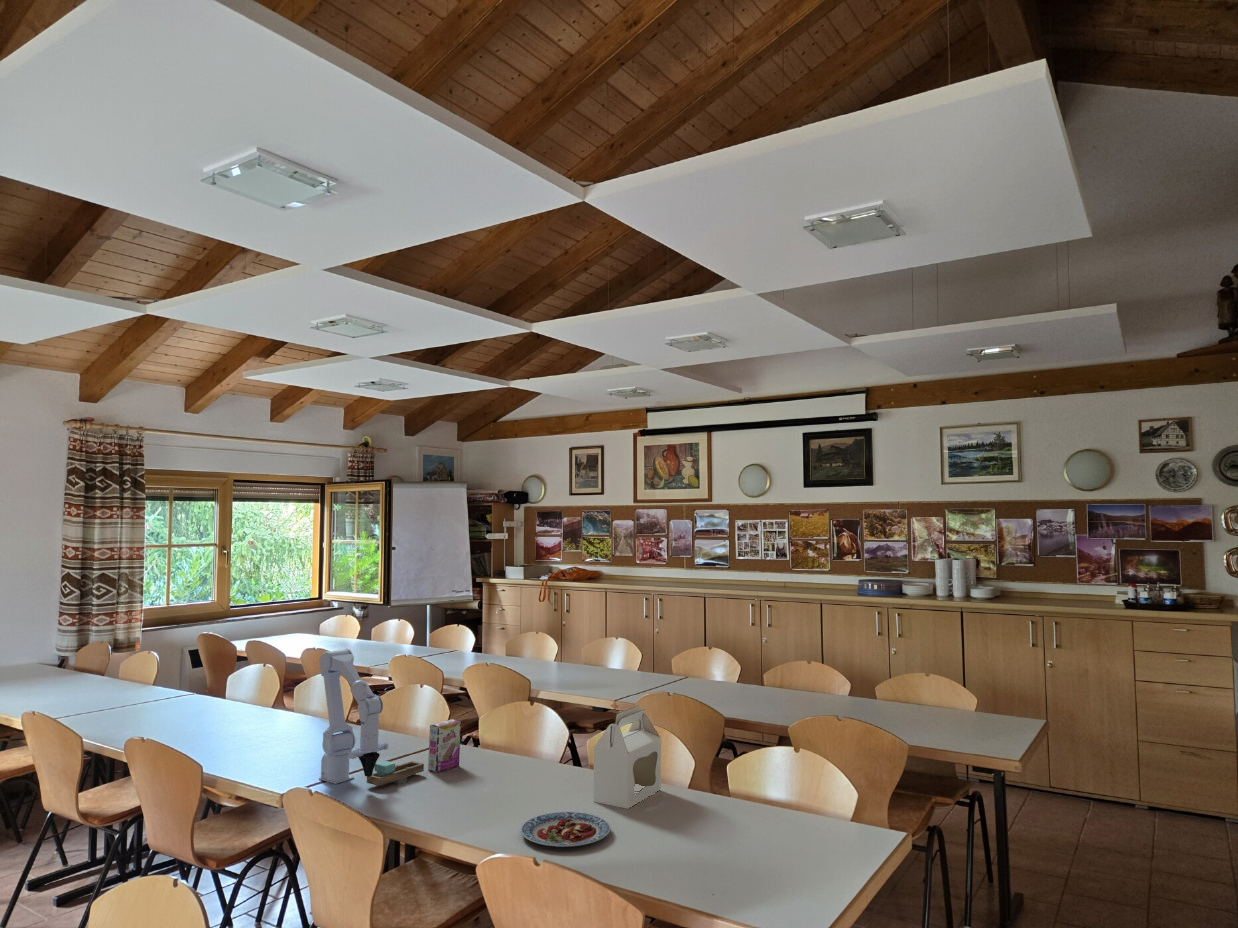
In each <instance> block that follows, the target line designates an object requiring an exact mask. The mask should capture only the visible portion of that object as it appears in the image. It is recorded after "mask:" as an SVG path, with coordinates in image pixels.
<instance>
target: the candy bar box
mask: <svg viewBox="0 0 1238 928" xmlns="http://www.w3.org/2000/svg"><path fill="white" fill-rule="evenodd" d="M461 727H462V721H461V720H458V719H453V718H452V719H449V720H445V721H440V722H435V723H431V724H429V736H428V737H429V739H428V740H429V741H428V765H427V766H428V767H427V768H428V769H427V770H428V771H429V772H432V773H435V774H437V773H441V772H443V771H446V770H450V769H453V768H456V767H457V768H458V767H460V753H461V752H460V751H461V749H460V748H461Z"/></svg>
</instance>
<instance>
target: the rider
mask: <svg viewBox="0 0 1238 928" xmlns="http://www.w3.org/2000/svg"><path fill="white" fill-rule="evenodd" d="M395 766H396V763H395V762H392V761H387V760H383V761H380V762H376V764H375V766H374V772H377V777H381V776H385V775H388V774H391V773H393V771H395Z"/></svg>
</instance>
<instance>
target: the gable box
mask: <svg viewBox="0 0 1238 928" xmlns="http://www.w3.org/2000/svg"><path fill="white" fill-rule="evenodd" d="M645 710H646V709H645V708H644V709H642V706H641V705H639V704H638V705H636V706H633V707H631V708H628V709H625V710H623V711H621V712H617V713H615V716H614V723H611V724H609V725H608V726H607V727H606V729H605V731H604V732H603V733H602V735H601V736H600V738H599V739H598V741H597V742H596V744H595V745H594V746H593V789H592V790H593V792H592V793H593V794H592V795H593V797H592V798H593V803H597V804H601V805H605V804H606V805H605V806H610V805H612V806H611V807H614V806H617V807H616V808H619V807H623V808H628V809H627V810H630V809H631V808H633V807H634V806H633V805H635V804H637V803H638V802H640V803H641V801H642V800H643V801H645V800H646V799H645V798H647V797H648V796H650V797H652V796H653V795H652V794H654V793H655V792H657V791H658V790H660V789H662V787H661V786H662V785H661V783H662V782H661V780H662V775H661V774H662V769H661V768H662V764H661V763H662V738H661V736H660V735H659V733H658V731H657V730H656V729H655V727H654V725H653V723H652V722H651V720H650V719H649V717H648V716H647V715H646V713H645ZM629 724H631V726H630V727H629V730H628V731H627V732H624V733H622V730H621V728H622V727H625V726H626V725H629ZM635 784H639V785H641V786H645V787H644V788H642V789H641V790H640V791H634V786H635ZM660 791H661V790H660ZM634 792H639V793H634ZM657 793H658V792H657ZM635 794H636V795H635ZM655 794H656V793H655ZM655 794H654V795H655ZM651 795H652V796H651ZM648 798H649V797H648ZM648 798H647V799H648ZM644 799H645V800H644ZM643 801H642V802H643ZM638 804H639V803H638ZM638 804H637V805H638ZM632 806H633V807H632ZM635 806H636V805H635ZM630 807H631V808H630ZM623 808H622V809H623ZM629 808H630V809H629Z"/></svg>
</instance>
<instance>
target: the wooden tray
mask: <svg viewBox="0 0 1238 928" xmlns="http://www.w3.org/2000/svg"><path fill="white" fill-rule="evenodd" d="M424 770H425V764H424V763H422V762H418V761H414V760H411V761H408V762H405V763H401V764H395V771H393V773H391V774H388V775H385V776H381V777H377V771H375V772H373V773H372V776H370V777H367V776H366V784H368V785H369V784H370V785H374V786H376V787H380V786H384V785H386V784H389V783H392V784H395V785H401V784H404V783H407V782H408V777H410V776H413V775H416V774H419V773H422V772H424Z"/></svg>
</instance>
